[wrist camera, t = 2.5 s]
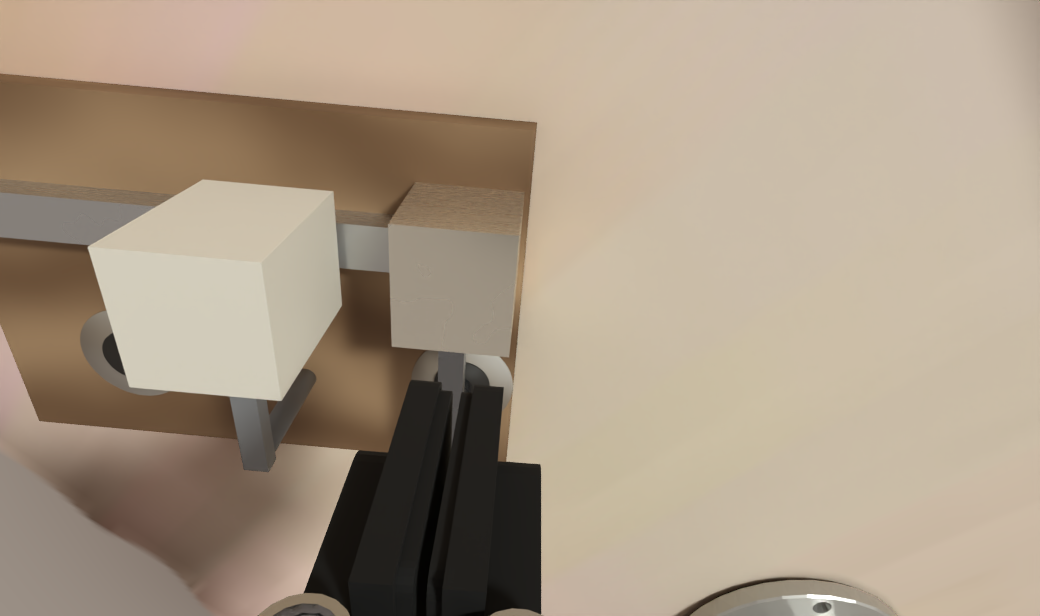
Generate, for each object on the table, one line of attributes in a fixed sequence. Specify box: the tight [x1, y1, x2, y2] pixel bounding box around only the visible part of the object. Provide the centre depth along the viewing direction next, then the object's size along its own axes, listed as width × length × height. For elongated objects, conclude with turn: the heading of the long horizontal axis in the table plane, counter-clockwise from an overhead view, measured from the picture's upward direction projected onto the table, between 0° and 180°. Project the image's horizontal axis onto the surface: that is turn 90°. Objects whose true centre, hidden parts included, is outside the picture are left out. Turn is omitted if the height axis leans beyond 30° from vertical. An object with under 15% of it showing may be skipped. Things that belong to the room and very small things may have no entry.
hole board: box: [0, 74, 537, 462], centre depth 22 cm, size 14×20×1 cm
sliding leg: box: [88, 179, 342, 472], centre depth 18 cm, size 8×4×6 cm, turn 175°
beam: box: [0, 179, 524, 447], centre depth 20 cm, size 8×19×4 cm, turn 85°
